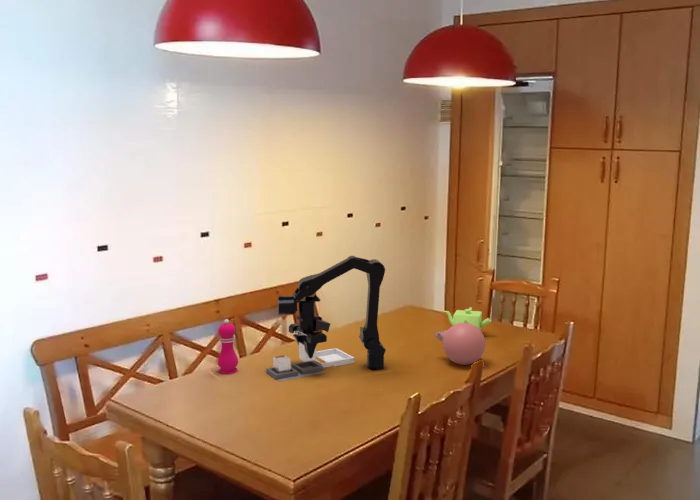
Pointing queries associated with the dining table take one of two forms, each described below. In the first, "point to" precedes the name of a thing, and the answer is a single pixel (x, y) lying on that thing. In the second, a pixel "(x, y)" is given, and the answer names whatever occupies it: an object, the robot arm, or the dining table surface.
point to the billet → (281, 364)
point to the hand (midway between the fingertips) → (307, 356)
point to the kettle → (468, 317)
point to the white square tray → (334, 358)
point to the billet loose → (305, 353)
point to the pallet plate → (297, 371)
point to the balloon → (462, 343)
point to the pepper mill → (227, 349)
